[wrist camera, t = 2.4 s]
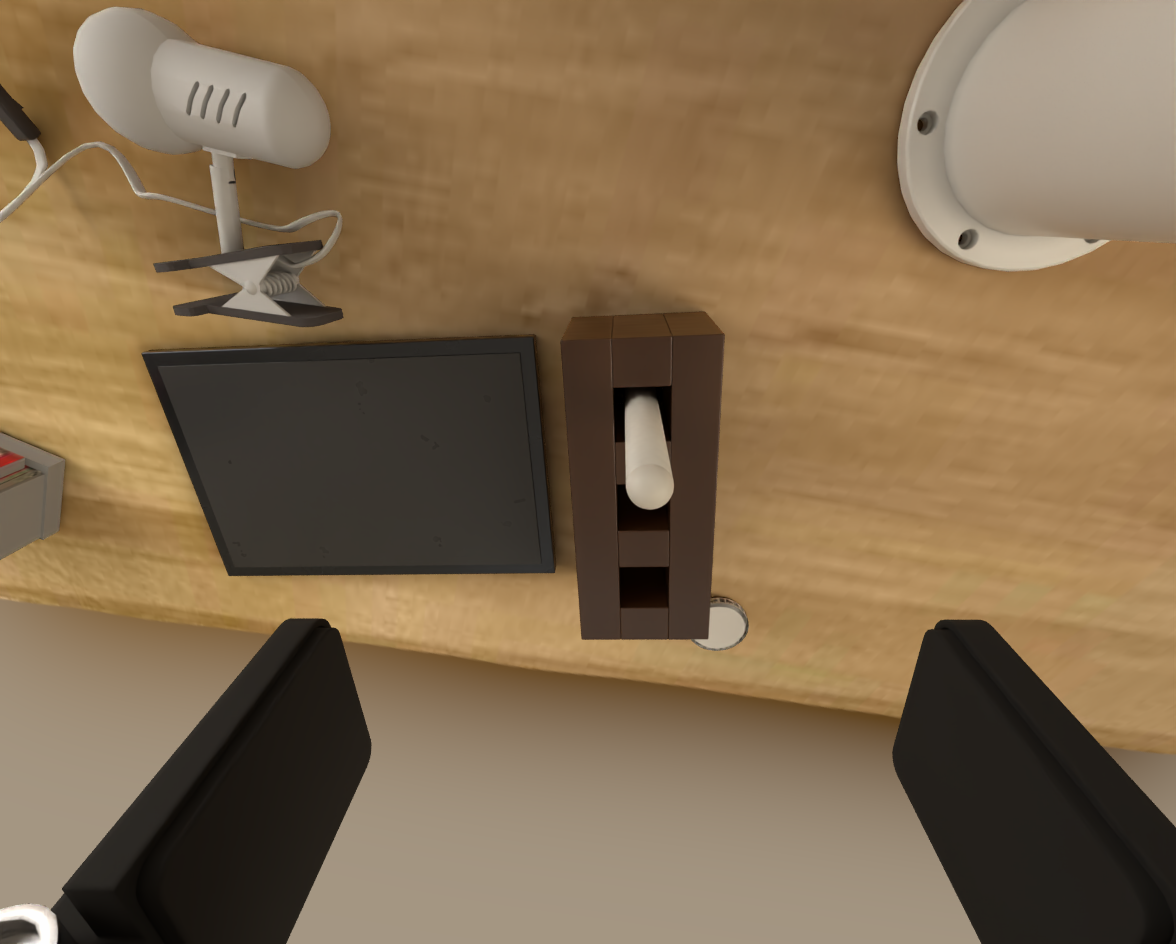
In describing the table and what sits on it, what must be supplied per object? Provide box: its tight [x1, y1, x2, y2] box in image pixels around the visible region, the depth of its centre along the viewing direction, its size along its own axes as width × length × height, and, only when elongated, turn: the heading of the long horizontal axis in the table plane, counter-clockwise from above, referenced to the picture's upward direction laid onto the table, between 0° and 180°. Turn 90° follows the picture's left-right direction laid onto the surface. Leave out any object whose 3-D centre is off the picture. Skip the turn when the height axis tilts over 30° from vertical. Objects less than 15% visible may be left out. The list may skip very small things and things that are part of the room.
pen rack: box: [561, 312, 725, 640], centre depth 30 cm, size 7×17×6 cm, turn 3°
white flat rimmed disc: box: [691, 598, 749, 651], centre depth 37 cm, size 4×4×1 cm
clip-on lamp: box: [0, 7, 344, 327], centre depth 25 cm, size 12×6×18 cm
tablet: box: [142, 334, 556, 576], centre depth 33 cm, size 22×15×1 cm
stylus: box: [624, 387, 674, 510], centre depth 24 cm, size 2×2×14 cm
